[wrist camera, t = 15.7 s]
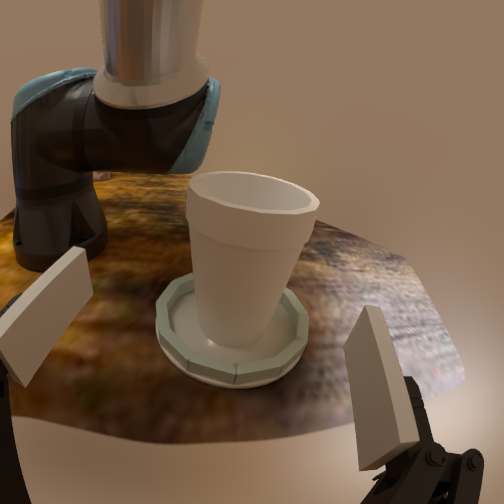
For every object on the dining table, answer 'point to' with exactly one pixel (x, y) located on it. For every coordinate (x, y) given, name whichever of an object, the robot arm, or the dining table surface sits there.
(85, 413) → the dining table surface
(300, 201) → the foam cup
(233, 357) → the ceramic saucer
